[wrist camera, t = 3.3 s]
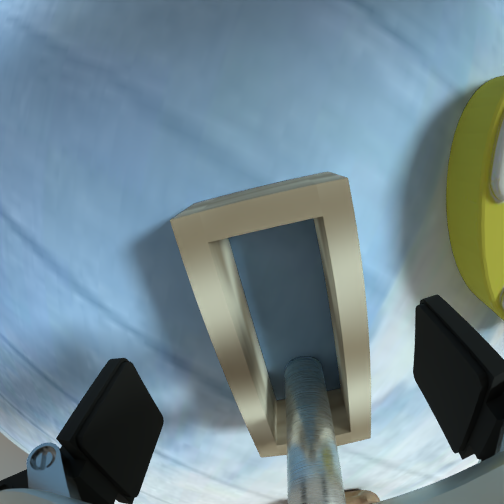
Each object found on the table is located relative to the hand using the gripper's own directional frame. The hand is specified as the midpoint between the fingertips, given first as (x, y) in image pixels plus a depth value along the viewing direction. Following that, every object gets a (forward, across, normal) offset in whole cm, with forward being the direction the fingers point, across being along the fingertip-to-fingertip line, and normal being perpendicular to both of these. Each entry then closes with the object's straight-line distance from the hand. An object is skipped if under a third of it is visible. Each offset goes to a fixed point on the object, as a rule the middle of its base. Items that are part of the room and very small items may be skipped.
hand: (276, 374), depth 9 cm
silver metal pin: (+8, 0, +7) cm, 10 cm away
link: (+8, 0, +3) cm, 8 cm away
